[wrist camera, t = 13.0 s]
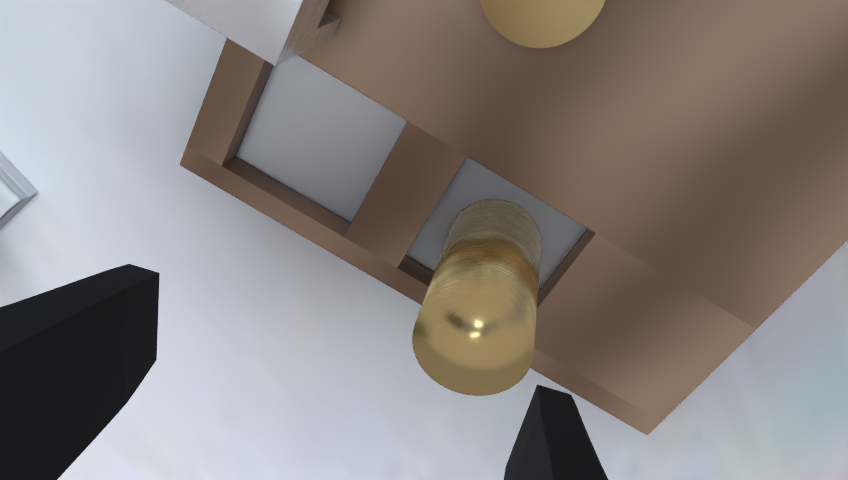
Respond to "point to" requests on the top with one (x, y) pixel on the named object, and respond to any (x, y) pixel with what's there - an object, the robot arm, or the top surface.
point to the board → (591, 163)
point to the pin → (482, 301)
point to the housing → (266, 24)
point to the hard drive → (13, 190)
